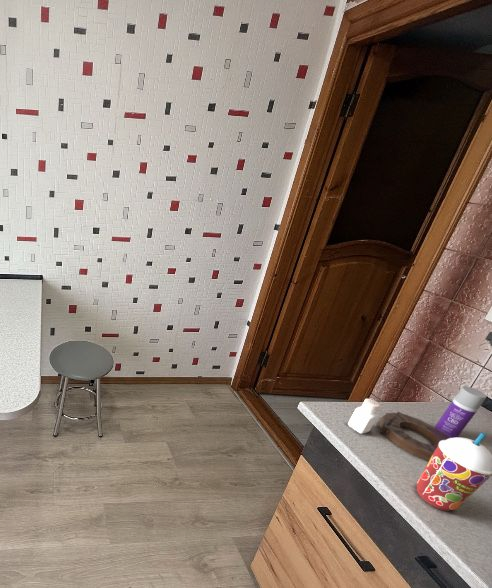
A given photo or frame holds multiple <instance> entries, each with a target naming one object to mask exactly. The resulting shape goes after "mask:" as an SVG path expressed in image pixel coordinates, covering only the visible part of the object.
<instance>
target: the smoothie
mask: <svg viewBox="0 0 492 588" xmlns="http://www.w3.org/2000/svg"><path fill="white" fill-rule="evenodd" d="M486 436H487V433H485V432H480V434H479V435H478V436H477V438H476V439H475V440H474V439H471V438H468V437H462V436H458V437H455V438H449V439H446V440H441V441H440V442H439V445H438V446H437V448H436V450H435V452H434V453H433V455H432V457H431V459H430V460H429V461H428V462H427V464H426V466H425V468H424V469H423V471H422V473H421V475H420V476H419V478H418V480H417V481H416V491H417V493H418V495H419V496H420V497H421V499H422V500H424V501H425V502H426V503H428V504H429V505H431V506H432V507H433V508H434V507H435V508H436V509H438V510H441V511H445V512H446V511H447V512H449V511H453V510H454V511H455V510H457V509H458V508H459V507H460V506H461V505H462V504H464V503H465V501H467V500H468V499H469V498H470V497H471V496H472V495H473V494H474V493H475V492H477V490H478V489H479V488H480V487H482V485H483V484H484V483H486V482H487V481H488V480H489V479H490V478H491V477H492V452H491V451H490V450H489V449H488V448H487V447H486V446H484V445H483V444H481V443H482V441H483V440H484V438H485V437H486Z"/></svg>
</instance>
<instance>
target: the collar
mask: <svg viewBox="0 0 492 588" xmlns="http://www.w3.org/2000/svg"><path fill="white" fill-rule="evenodd" d="M378 425H379V429H380V432H379V433H380V434H382V435H383V436H385V437H386V438H387V439H388V440H390V441H391V442H392V443H393V444H395V446H397V447H398V448H400V449H402V450H404V451H405V452H407V453H408V454H410V455H412V456H414V457H416V458H420V459H423V460H425V461H426V462H427V461H428V462H429V460H430V459H431V457H432V455H433V453H434V452H435V450H436V448H437V446H438V445H439V442H440V441H441V440H446V439H449V437H448V436H447V435H445V434H444V433H443V432H441V431H440V430H438V429H437V428H435V426H434V425H431V424H430V423H427V422H426V421H423V420H421V419H420V418H417V417H414V416H411V415H408V414H405V413H402V412H400V411H397V412H394V411H393V412H386V413H385V414H384V415H383V416H382V417H381V419H380V420H379V422H378ZM403 429H404V430H409V431H411V432H413V433H416V434H418V435H419V436H421V437H423V438H424V439H426V440H427V441H428V442H429V443H430V444H429V443H425V442H422V441H420V440H418V439H416V438H414V437H412V436H411V435H410V434H408V433H407V432H405V431H404V430H403Z"/></svg>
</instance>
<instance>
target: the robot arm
mask: <svg viewBox="0 0 492 588" xmlns="http://www.w3.org/2000/svg"><path fill="white" fill-rule="evenodd" d="M484 340H486V341H487V342H488V344H490V346H491V347H492V331H489V332H488V334H487V335H486V337H485V338H484Z"/></svg>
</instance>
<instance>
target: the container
mask: <svg viewBox="0 0 492 588" xmlns="http://www.w3.org/2000/svg"><path fill="white" fill-rule="evenodd" d="M486 399H487V395H486V393H484V392H483V391H481V390H478V389H476V388H473V387H470V386H463V387H461V389H460V390H459V392H458V393H457V394H456V396H455V397H454V398H453V400H452V401H451V403H450V404H449V405H448V407H447V408H446V409H445V411H444V413H443V414H442V415H441V417H440V418H439V420H438V421H437V423H436V424H435V426H434V427H435V428H437V429H438V430H440V431H441V432H443V433H444V434H445V435H447V436H448V437H449V438H455V437H460V435H461V434H462V433H463V431H464V429H465V428H466V427H467V426H468V424H469V423H470V422H471V420H472V419H473V418H474V416H475V415H476V414H477V412H478V410H479V409H480V408H481V406H482V405H483V403H484V402H485V400H486Z"/></svg>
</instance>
